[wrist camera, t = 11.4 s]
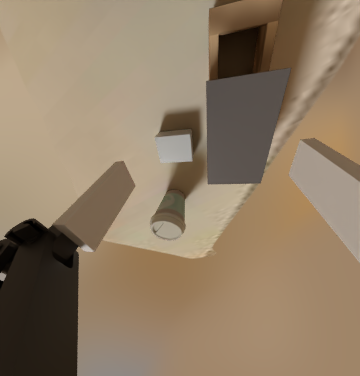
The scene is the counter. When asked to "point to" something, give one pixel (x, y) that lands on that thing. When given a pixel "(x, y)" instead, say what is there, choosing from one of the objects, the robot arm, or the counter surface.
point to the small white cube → (175, 146)
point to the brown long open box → (242, 20)
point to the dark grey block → (242, 124)
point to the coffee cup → (169, 217)
